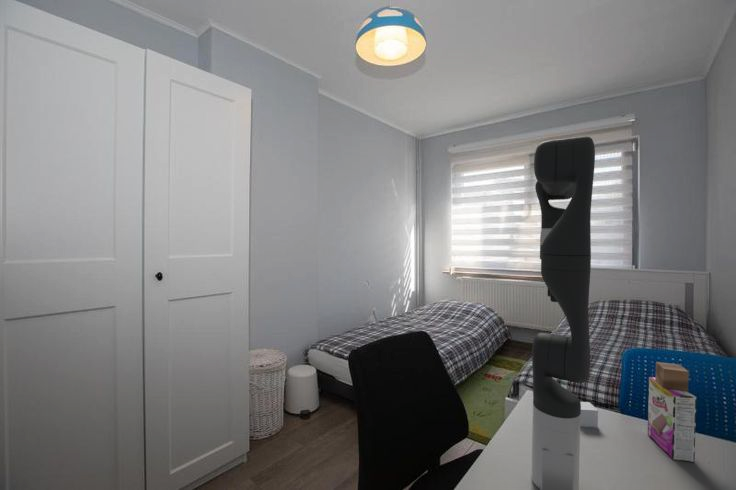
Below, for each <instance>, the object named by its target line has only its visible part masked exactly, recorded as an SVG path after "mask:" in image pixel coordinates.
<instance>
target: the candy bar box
mask: <svg viewBox="0 0 736 490" xmlns="http://www.w3.org/2000/svg"><path fill="white" fill-rule="evenodd" d="M655 377H656V376H655ZM655 377H654V376H649V377H648V395H647V397H648V400H647V401H648V409H647V436H649V437H650V439H652V440H653V441H654V442H655V444H656V445H658V447H659V448H661V449H662V450H663V451H664V452H665V453H666V454H667V455H668V456H669V457H670V458H671V459H672V460H674V461H678V462H679V461H680V462H689V463H695V459H696V457H695V456H696V455H695V454H696V426H697V423H696V421H697V420H696V418H697V396H695V395H694V394H692V393H691V392H689V390H688V391H680V390H673V389H666V388H662V387H661V386H660V385H659V384H658V383H657V382H656V381H655Z"/></svg>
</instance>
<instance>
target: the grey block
mask: <svg viewBox="0 0 736 490" xmlns="http://www.w3.org/2000/svg"><path fill="white" fill-rule="evenodd" d="M580 403H581V419H580V427H582V428H583V427H584V428H585V427H586V428H598V427H599V410H598V409H597V408H596V407H595V406H594V405H593V404H592V403H591V402H590V401H589V402H588V401H580Z"/></svg>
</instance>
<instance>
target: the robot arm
mask: <svg viewBox="0 0 736 490" xmlns="http://www.w3.org/2000/svg"><path fill="white" fill-rule="evenodd" d="M595 148H596V147H595V143H594V140H593V138H592V137H590V136H574V137H567V138H557V139H550V140H544V141H542V142H540V143H539V144H538V145H537V147H536V148H535V152H534V157H533V158H534V159H533V172H534V177H535V179H536V182H535V186H534V188H535V193H536V197H537V200H538V202H539V206H540V207H539V208H540V212H541V213H540V215H541V217H540V218H541V223H540V224H541V225H540V226H541V231H540V235H539V236H540V237H539V240H540V241H539V260H540V275H541V277H542V280H543V282H544V284H545V286H546V287H547V294H546V295H547V296H548V297H549V298H550V299H549V300H550V301H551V302H553V303H557V304H558V305H559V307H560V308H561V310H562V312H563V315H564V316H565V318H566V320H567V323H568V326H569V330H570V336H568V335H567V336H566V335H560V334H554V333H548V332H539V333H537V334H535V337H534V339H533V341H532V349H531V358H532V359H531V362H532V363H531V364H532V429H531V430H532V434H531V437H532V441H531V445H532V446H531V480H532V483H533V484H534V485H535V487H536V488H538V489H539V490H580V451H581V447H580V445H581V426H580V419H581V403H580V402H581V401H580V398H579V397H578V396H577V395H576V394H575V393H573V392H572V391H570V390H568V389H567V388H565V387H564V386H562V385H561V384H559V382H557V381H556V380H555V379H557V380H562V381H566V382H569V383H570V382H572V383H576V384H584V383H586V381H588V379H589V377H590V370H591V345H590V343H591V342H590V341H591V340H590V320H589V312H590V311H589V306H590V305H589V302H590V301H589V300H590V286H591V285H590V283H591V282H590V281H591V267H592V266H591V264H592V246H591V244H592V243H591V241H592V240H591V238H592V237H591V232H592V231H591V219H592V218H591V216H592V215H591V214H592V213H591V212H592V198H593V187H594V179H595V177H594V175H595V163H596V149H595ZM558 200H559V201H560V200H562V201H563V200H570V201H569V203H568V205H567V206H566V208H562V207H558V206H553V205H551V203H550V201H558Z"/></svg>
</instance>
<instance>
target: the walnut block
mask: <svg viewBox="0 0 736 490" xmlns="http://www.w3.org/2000/svg"><path fill="white" fill-rule="evenodd" d="M689 375H690V372H689V370H687V368H685V367H684V366H682V365H681V364H677V363H668V362H662V361H661V362H660V361H656V362H655V381H656V382H657V383H658V384H659V385H660V386H661V387H662V388H666V389H673V390H680V391H688V392H689V377H690V376H689Z"/></svg>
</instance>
